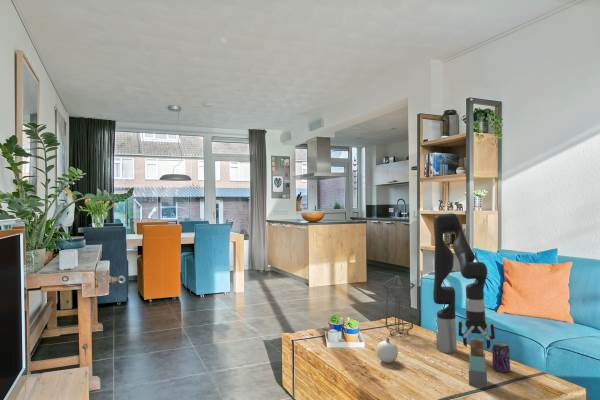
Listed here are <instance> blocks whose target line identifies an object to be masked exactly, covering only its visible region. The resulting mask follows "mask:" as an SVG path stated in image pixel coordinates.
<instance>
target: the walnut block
mask: <svg viewBox="0 0 600 400" xmlns="http://www.w3.org/2000/svg"><path fill="white" fill-rule="evenodd" d="M469 340H470V341H469V343H470V352H471V356H479V357H484V353H485V351H484V338H478V337H477V338H475V337H470V339H469Z"/></svg>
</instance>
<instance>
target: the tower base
mask: <svg viewBox="0 0 600 400" xmlns="http://www.w3.org/2000/svg"><path fill="white" fill-rule="evenodd" d="M487 372H488V370H487V366H485V372H480V371H471V370H470V364H469V365H468V384H469V385H468V386H477V387H485V388H488V373H487Z"/></svg>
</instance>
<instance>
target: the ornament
mask: <svg viewBox="0 0 600 400" xmlns="http://www.w3.org/2000/svg"><path fill="white" fill-rule="evenodd" d="M398 354H399V349H398V347H397V345H396V343H394V341H392V340H390V338H389V337H386V339H385V340H382V341H380V342H379V343H378V344H377V347H376V355H377V358H378V359H379V360H380V361H381V362H383V363H386V364H390V363H393V362H395V361H396V360H397V358H398V356H399V355H398Z"/></svg>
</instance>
